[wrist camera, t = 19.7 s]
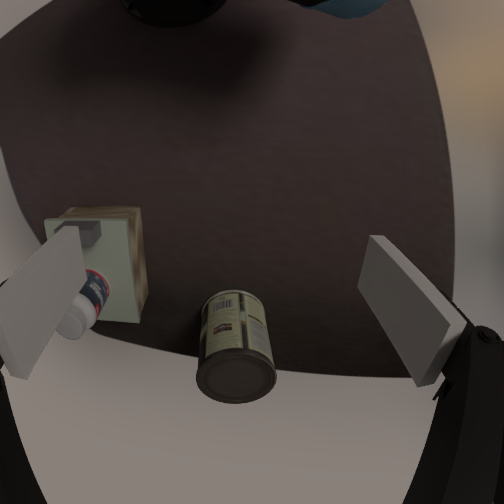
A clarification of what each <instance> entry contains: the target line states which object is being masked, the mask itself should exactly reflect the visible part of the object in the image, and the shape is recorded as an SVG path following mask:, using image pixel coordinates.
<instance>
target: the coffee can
mask: <svg viewBox="0 0 504 504" xmlns="http://www.w3.org/2000/svg"><path fill="white" fill-rule="evenodd" d="M276 379H277V375H276V370H275V367H274V364H273V358H272V353H271V348H270V342H269V337H268V331H267V326H266V321H265V312H264V308H263V305H262V304H261V302H260V301H259V300H258V299H257V298H256V297H255V296H253V295H252V294H250V293H248V292H245V291H241V290H226V291H222V292H219V293H217V294H215V295H213V296H212V297H211V298H209V299H208V300H207V302H206V303H205V305H204V306H203V309H202V321H201V333H200V347H199V359H198V370H197V374H196V382H197V385H198V387H199V389H200V390H201V391H202V392H203V393H204V394H205V395H206V396H208V397H209V398H211V399H213V400H216V401H219V402H223V403H230V404H240V403H248V402H252V401H255V400H257V399H259V398H262V397H263V396H265V395H266V394H268V393H269V392H270V391H271V390H272V388H273V387H274V385H275V383H276Z"/></svg>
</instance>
